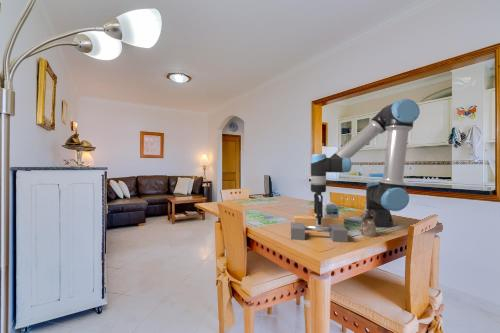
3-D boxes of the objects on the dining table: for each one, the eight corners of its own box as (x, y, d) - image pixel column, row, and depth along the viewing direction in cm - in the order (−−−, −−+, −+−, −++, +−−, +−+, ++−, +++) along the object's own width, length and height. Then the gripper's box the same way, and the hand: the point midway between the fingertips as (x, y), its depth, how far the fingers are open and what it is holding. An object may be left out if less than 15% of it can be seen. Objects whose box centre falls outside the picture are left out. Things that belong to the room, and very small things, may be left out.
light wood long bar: (341, 228, 124) (341, 217, 124) (343, 231, 119) (343, 219, 119) (294, 227, 128) (294, 215, 127) (294, 229, 123) (294, 218, 122)
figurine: (359, 231, 119) (360, 207, 118) (375, 233, 115) (376, 208, 115) (358, 235, 112) (359, 210, 112) (375, 237, 109) (376, 211, 109)
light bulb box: (339, 225, 130) (339, 205, 130) (326, 225, 131) (326, 205, 130) (332, 220, 141) (332, 202, 141) (321, 220, 141) (321, 201, 141)
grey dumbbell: (342, 235, 113) (342, 224, 113) (347, 242, 103) (347, 230, 103) (290, 232, 117) (290, 222, 116) (291, 239, 107) (291, 228, 107)
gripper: (309, 182, 133) (308, 222, 134) (312, 186, 113) (312, 234, 114) (323, 182, 132) (322, 223, 133) (329, 186, 112) (329, 234, 113)
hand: (318, 228), depth 123 cm, fingers open, 8 cm apart
